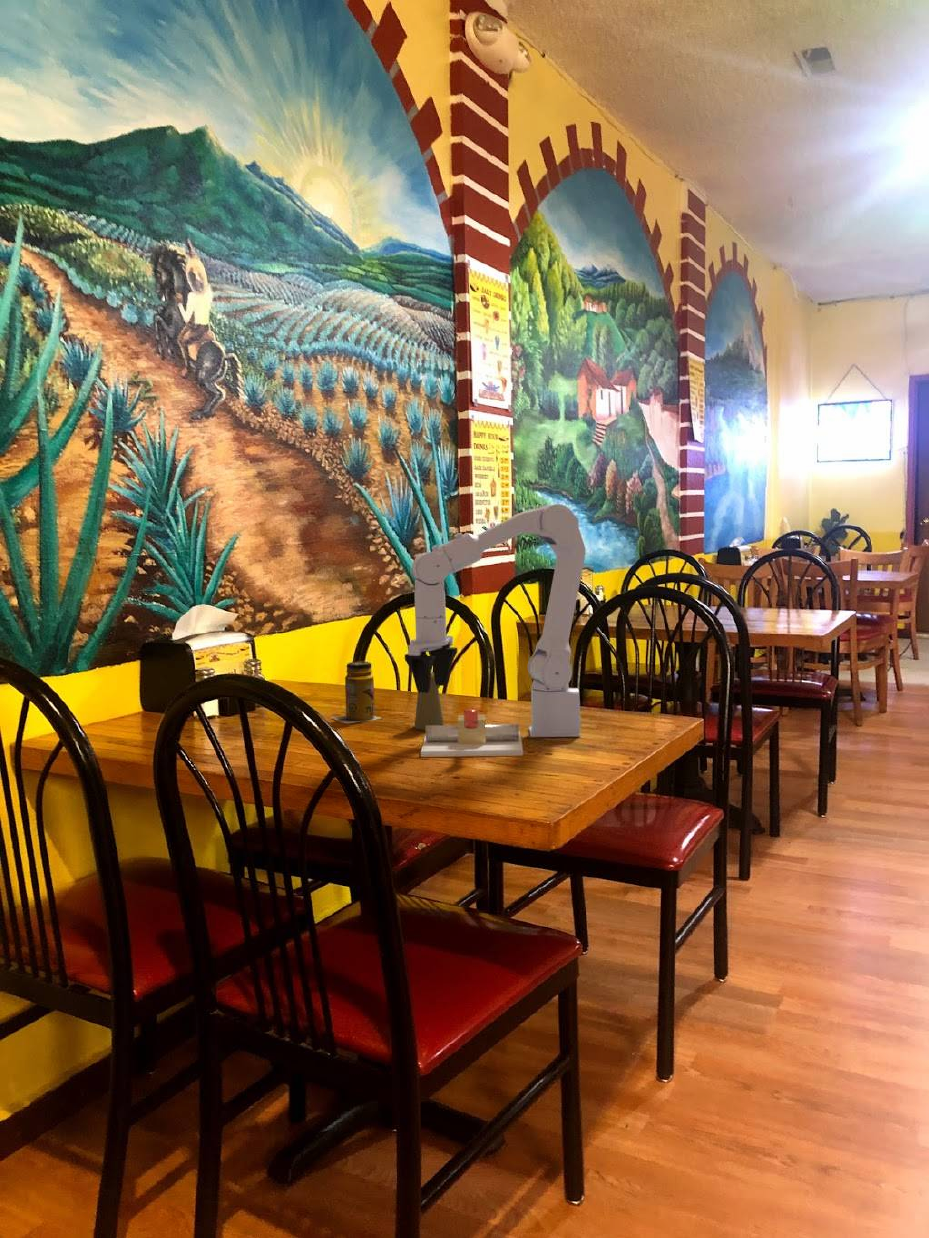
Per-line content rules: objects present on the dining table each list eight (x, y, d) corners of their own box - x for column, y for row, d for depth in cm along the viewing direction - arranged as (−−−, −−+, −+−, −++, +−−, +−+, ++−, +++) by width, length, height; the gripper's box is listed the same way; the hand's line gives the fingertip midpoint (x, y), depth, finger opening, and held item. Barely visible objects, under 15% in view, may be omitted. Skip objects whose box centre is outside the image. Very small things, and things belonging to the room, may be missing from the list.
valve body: (518, 737, 181) (517, 714, 180) (518, 743, 176) (518, 719, 175) (427, 738, 181) (426, 715, 180) (425, 744, 176) (424, 721, 175)
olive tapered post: (440, 730, 193) (439, 675, 192) (411, 729, 194) (409, 675, 193) (447, 723, 199) (445, 670, 198) (418, 723, 200) (417, 670, 199)
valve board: (519, 736, 186) (519, 731, 185) (522, 755, 171) (522, 749, 171) (426, 738, 186) (426, 732, 186) (421, 756, 171) (420, 751, 171)
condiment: (382, 719, 205) (380, 663, 204) (347, 724, 200) (345, 667, 199) (365, 713, 211) (363, 659, 210) (330, 719, 206) (328, 663, 205)
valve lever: (465, 715, 179) (465, 699, 179) (478, 715, 179) (478, 699, 179) (464, 728, 168) (463, 711, 167) (478, 728, 168) (477, 711, 167)
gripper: (429, 612, 189) (431, 681, 190) (392, 620, 176) (395, 694, 177) (461, 613, 186) (463, 683, 187) (427, 621, 173) (429, 696, 174)
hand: (432, 688), depth 182 cm, fingers open, 7 cm apart
